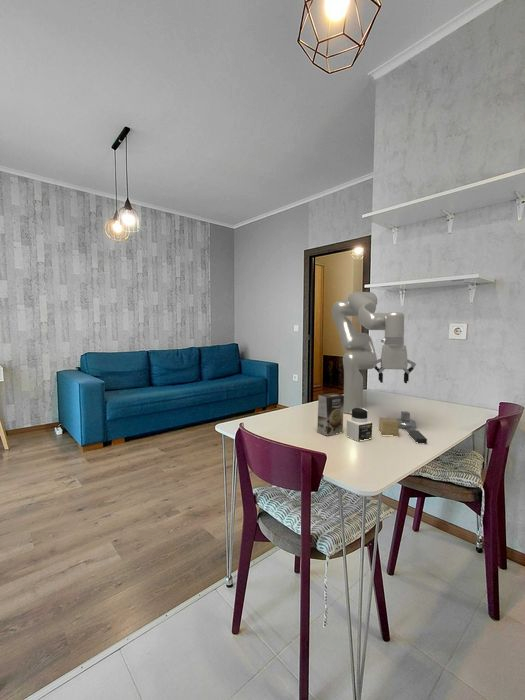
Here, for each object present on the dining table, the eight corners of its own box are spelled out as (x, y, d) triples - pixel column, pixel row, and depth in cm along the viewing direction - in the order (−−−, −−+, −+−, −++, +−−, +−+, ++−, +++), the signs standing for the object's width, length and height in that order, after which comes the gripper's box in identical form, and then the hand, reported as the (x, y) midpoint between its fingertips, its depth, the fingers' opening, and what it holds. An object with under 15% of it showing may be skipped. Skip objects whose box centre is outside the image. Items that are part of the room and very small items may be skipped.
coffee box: (327, 436, 135) (328, 397, 134) (316, 432, 140) (317, 394, 139) (343, 433, 140) (344, 395, 138) (332, 428, 145) (333, 392, 144)
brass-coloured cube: (382, 436, 136) (382, 421, 136) (378, 431, 143) (379, 417, 142) (398, 436, 135) (399, 422, 135) (394, 431, 142) (394, 418, 141)
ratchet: (409, 443, 128) (410, 427, 128) (392, 422, 155) (392, 409, 154) (434, 444, 127) (434, 428, 127) (412, 423, 153) (412, 410, 153)
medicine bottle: (358, 442, 129) (359, 412, 128) (346, 436, 135) (346, 407, 134) (372, 439, 132) (373, 409, 131) (359, 434, 139) (360, 405, 138)
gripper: (373, 342, 138) (372, 383, 139) (418, 342, 134) (417, 384, 135) (371, 341, 145) (370, 380, 146) (414, 341, 141) (413, 381, 142)
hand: (393, 382), depth 140 cm, fingers open, 9 cm apart
